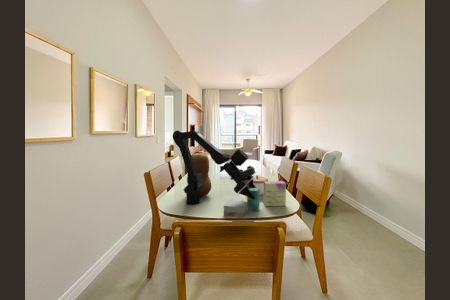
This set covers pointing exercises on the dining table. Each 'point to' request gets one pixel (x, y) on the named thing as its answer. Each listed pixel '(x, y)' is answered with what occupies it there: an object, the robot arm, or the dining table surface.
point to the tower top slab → (236, 206)
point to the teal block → (254, 200)
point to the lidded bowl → (259, 183)
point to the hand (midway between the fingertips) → (256, 195)
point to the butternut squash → (202, 172)
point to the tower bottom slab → (235, 213)
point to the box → (274, 193)
